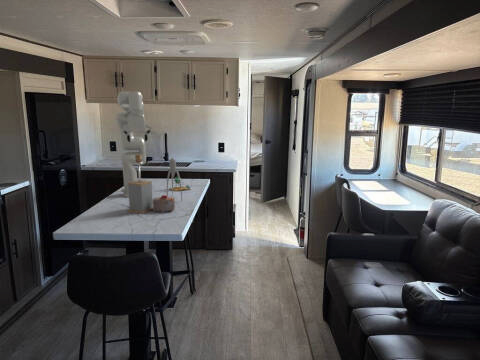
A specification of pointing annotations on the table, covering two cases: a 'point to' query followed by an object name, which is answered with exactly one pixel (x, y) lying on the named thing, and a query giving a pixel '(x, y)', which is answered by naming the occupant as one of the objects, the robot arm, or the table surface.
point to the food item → (163, 204)
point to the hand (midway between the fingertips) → (137, 141)
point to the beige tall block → (140, 196)
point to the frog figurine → (179, 184)
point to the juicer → (172, 168)
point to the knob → (138, 161)
